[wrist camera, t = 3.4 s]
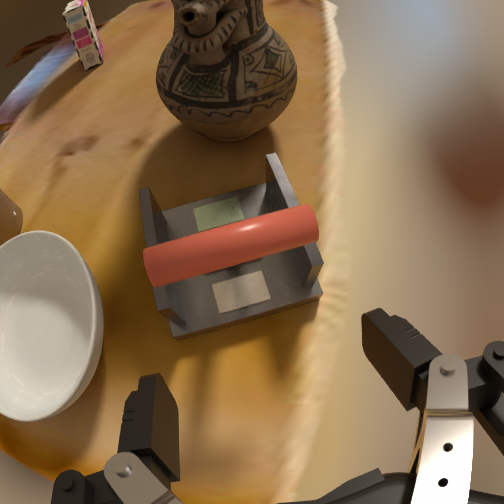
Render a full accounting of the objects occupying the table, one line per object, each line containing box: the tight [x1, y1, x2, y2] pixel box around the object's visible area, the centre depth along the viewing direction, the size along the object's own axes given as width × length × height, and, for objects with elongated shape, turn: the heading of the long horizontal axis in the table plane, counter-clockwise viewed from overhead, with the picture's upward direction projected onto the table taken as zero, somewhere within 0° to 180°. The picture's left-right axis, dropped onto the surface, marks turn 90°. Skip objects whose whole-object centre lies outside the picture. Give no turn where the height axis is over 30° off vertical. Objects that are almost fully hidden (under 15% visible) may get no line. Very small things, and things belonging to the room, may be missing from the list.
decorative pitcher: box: [156, 0, 297, 142], centre depth 31 cm, size 22×18×25 cm
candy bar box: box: [62, 0, 103, 70], centre depth 48 cm, size 11×5×16 cm, turn 22°
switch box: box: [139, 153, 324, 340], centre depth 30 cm, size 14×15×8 cm
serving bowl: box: [0, 231, 104, 422], centre depth 27 cm, size 21×21×7 cm
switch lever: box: [143, 204, 319, 288], centre depth 24 cm, size 2×10×13 cm, turn 106°
